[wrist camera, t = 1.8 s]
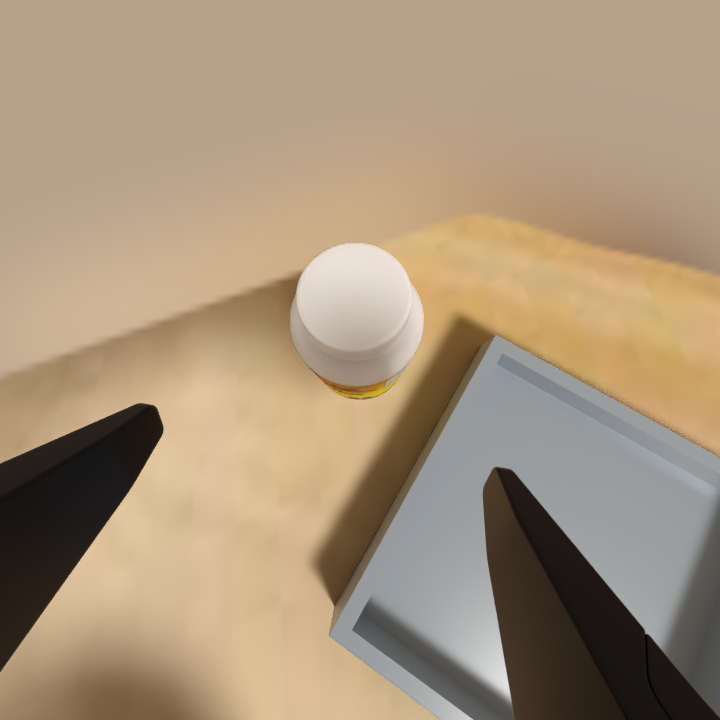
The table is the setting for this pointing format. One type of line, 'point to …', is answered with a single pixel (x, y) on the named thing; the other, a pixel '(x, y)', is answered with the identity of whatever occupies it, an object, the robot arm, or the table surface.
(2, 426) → the table surface
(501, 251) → the table surface
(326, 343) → the supplement bottle
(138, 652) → the table surface
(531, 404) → the tray
